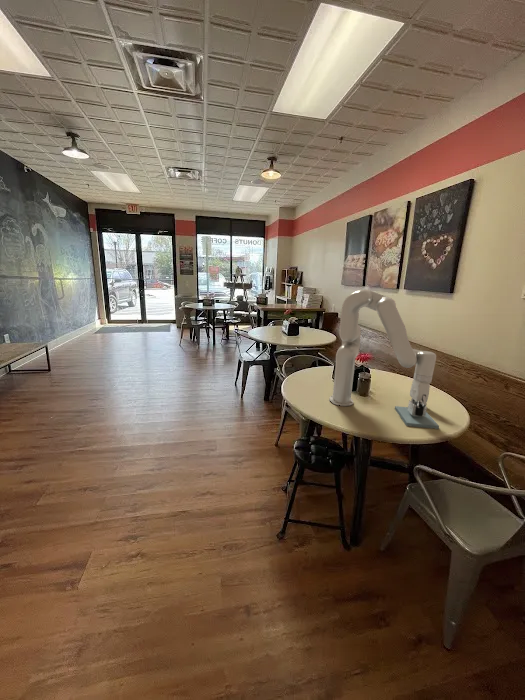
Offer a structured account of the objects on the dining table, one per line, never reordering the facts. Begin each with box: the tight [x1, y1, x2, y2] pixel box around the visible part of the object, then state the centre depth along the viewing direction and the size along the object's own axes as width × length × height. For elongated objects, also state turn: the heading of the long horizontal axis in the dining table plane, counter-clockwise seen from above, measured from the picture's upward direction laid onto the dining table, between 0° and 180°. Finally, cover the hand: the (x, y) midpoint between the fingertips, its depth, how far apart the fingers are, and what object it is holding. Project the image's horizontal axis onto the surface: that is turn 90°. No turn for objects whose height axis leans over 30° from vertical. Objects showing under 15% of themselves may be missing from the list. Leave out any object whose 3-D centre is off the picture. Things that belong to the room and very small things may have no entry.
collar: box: [407, 400, 428, 417], centre depth 141 cm, size 6×6×5 cm
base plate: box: [394, 405, 440, 430], centre depth 141 cm, size 18×14×6 cm
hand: (416, 411), depth 141 cm, fingers closed on collar, 6 cm apart
